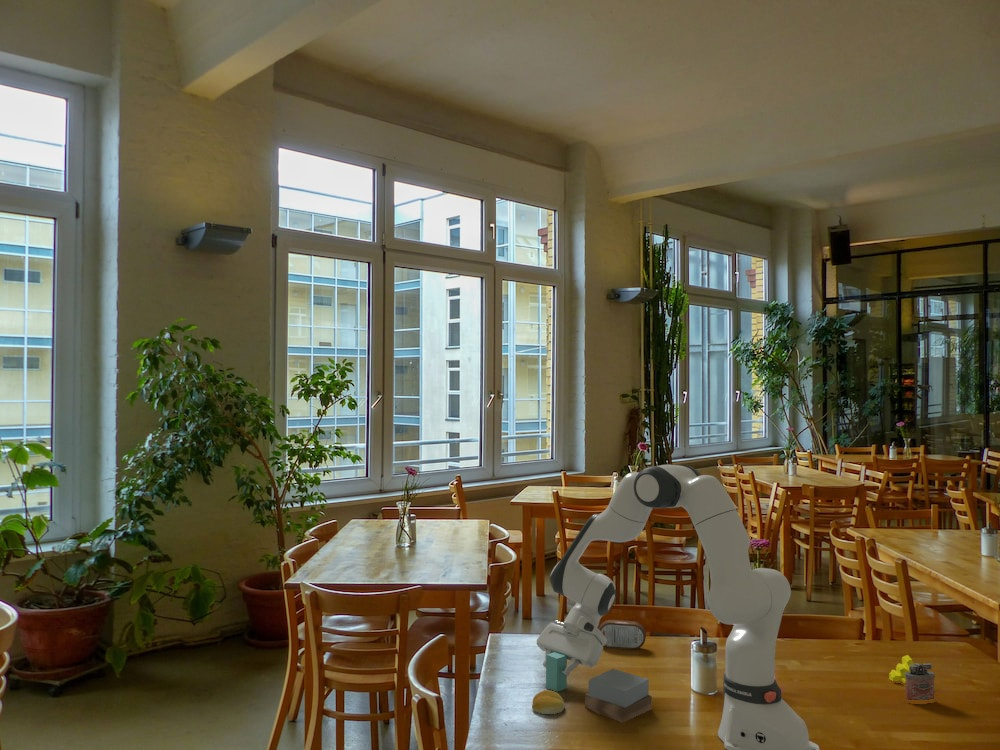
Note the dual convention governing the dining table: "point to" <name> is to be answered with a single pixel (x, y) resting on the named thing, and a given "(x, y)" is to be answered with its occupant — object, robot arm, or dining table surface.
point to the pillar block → (556, 671)
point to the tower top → (618, 687)
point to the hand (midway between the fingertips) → (554, 670)
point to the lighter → (920, 682)
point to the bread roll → (548, 702)
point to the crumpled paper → (901, 670)
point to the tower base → (618, 708)
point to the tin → (623, 634)
